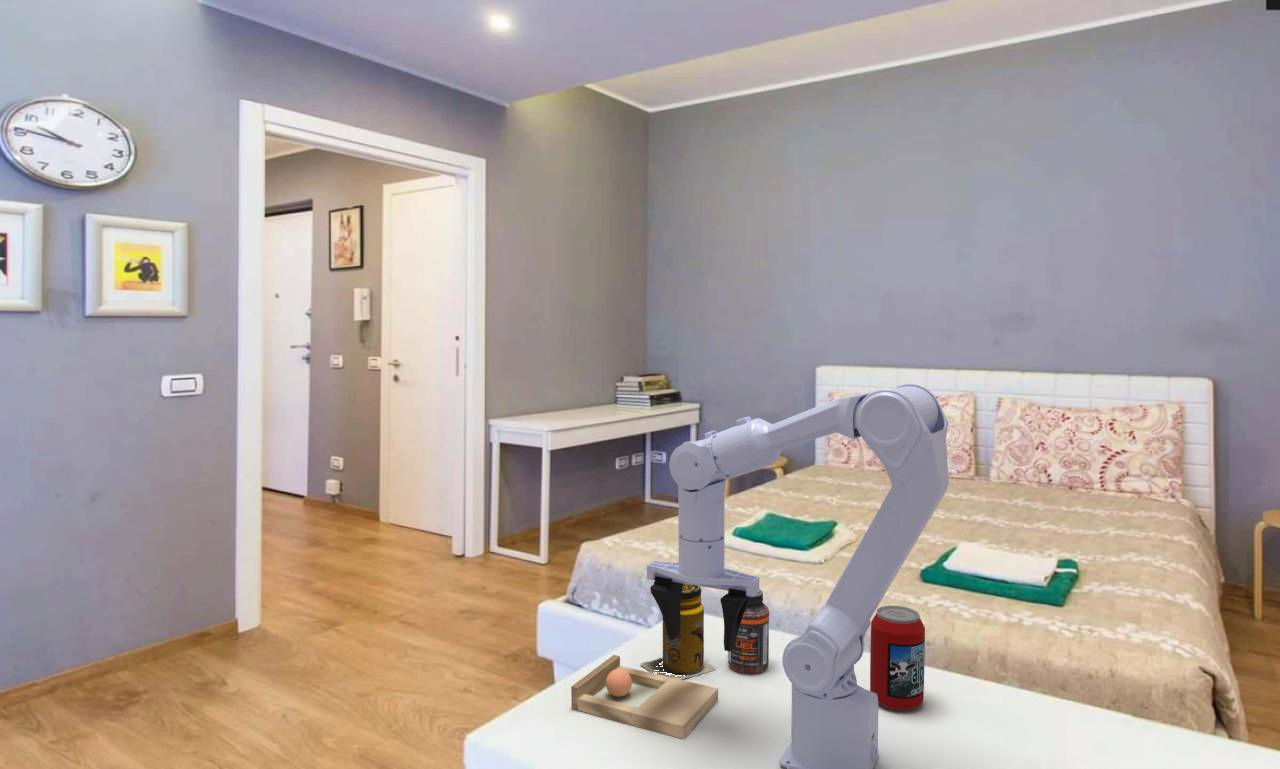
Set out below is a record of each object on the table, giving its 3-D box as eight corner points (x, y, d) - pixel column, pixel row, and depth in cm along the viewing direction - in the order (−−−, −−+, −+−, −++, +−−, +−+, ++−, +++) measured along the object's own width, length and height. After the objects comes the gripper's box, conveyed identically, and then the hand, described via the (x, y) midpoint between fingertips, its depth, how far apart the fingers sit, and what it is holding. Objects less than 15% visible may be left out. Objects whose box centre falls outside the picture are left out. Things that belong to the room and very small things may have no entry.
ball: (609, 670, 105) (622, 694, 104) (596, 680, 102) (609, 705, 101) (628, 660, 103) (640, 684, 103) (615, 670, 100) (628, 695, 100)
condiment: (716, 669, 111) (716, 588, 110) (668, 685, 106) (668, 600, 105) (686, 652, 117) (685, 575, 116) (639, 666, 112) (639, 586, 111)
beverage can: (905, 719, 96) (907, 626, 95) (859, 700, 101) (860, 611, 101) (933, 703, 100) (935, 613, 100) (888, 684, 106) (889, 600, 105)
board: (718, 700, 102) (718, 678, 101) (683, 739, 92) (683, 714, 92) (614, 675, 109) (613, 654, 109) (571, 708, 99) (571, 686, 99)
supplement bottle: (724, 672, 110) (724, 595, 109) (731, 656, 115) (731, 582, 115) (766, 678, 108) (766, 599, 107) (771, 660, 114) (771, 586, 113)
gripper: (767, 535, 95) (767, 641, 96) (663, 522, 102) (663, 621, 103) (748, 549, 89) (747, 663, 90) (638, 534, 96) (639, 640, 97)
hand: (701, 642), depth 96 cm, fingers open, 7 cm apart
